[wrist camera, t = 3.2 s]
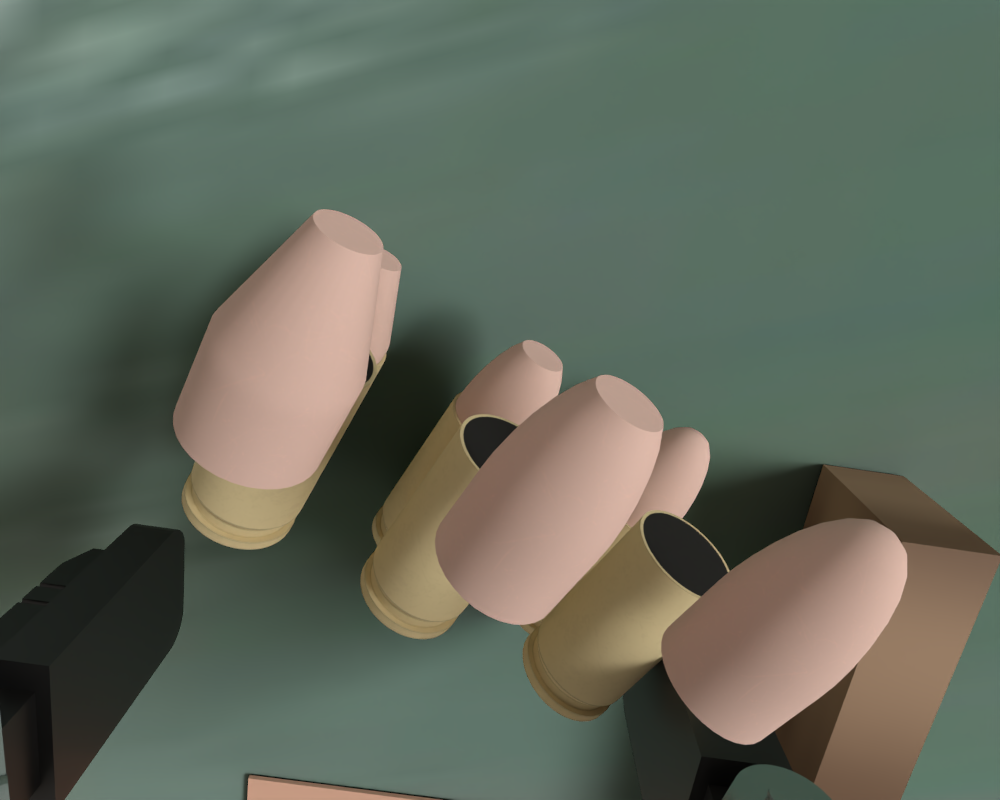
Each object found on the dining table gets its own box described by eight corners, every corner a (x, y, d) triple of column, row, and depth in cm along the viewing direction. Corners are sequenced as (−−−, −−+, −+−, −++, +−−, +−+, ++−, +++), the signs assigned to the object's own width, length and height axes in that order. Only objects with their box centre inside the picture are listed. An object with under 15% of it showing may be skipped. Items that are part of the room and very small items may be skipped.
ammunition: (560, 624, 15) (710, 987, 7) (233, 452, 14) (-17, 662, 6) (682, 425, 15) (979, 580, 7) (357, 232, 14) (262, 148, 6)
